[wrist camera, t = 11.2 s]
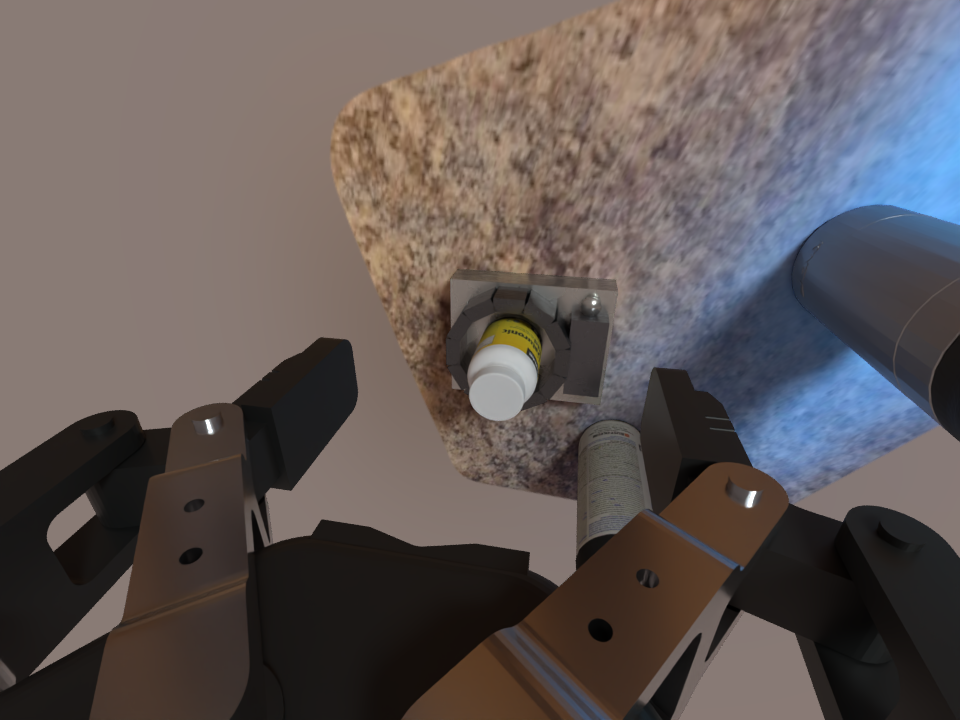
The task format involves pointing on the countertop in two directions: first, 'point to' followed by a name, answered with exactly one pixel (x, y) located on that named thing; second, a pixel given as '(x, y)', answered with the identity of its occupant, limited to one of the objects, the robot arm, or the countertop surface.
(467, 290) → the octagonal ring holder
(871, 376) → the countertop surface
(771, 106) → the countertop surface
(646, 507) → the spray can
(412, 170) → the countertop surface
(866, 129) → the countertop surface
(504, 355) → the supplement bottle
